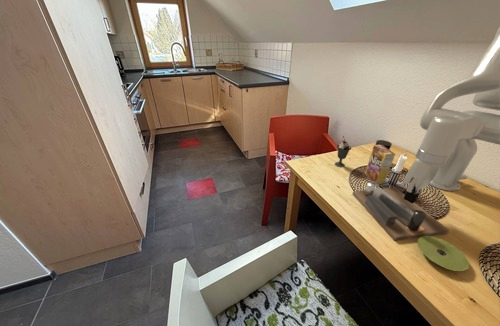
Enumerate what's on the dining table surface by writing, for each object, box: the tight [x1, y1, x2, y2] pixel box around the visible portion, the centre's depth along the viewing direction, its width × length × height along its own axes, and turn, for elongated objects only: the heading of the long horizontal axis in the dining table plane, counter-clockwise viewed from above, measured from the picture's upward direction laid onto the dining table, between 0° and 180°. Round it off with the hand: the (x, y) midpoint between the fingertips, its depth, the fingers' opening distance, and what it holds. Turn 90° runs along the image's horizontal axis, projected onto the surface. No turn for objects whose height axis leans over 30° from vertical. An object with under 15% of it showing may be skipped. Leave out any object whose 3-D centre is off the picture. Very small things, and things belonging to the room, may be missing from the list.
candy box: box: [364, 144, 396, 185], centre depth 88 cm, size 9×4×15 cm, turn 2°
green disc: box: [417, 236, 470, 272], centre depth 58 cm, size 11×11×2 cm
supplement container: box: [374, 139, 392, 151], centre depth 104 cm, size 7×7×10 cm
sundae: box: [334, 136, 352, 168], centre depth 99 cm, size 7×7×15 cm
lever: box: [364, 180, 426, 231], centre depth 71 cm, size 21×4×6 cm, turn 16°
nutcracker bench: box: [352, 186, 450, 241], centre depth 73 cm, size 19×23×5 cm
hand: (409, 200), depth 72 cm, fingers closed
